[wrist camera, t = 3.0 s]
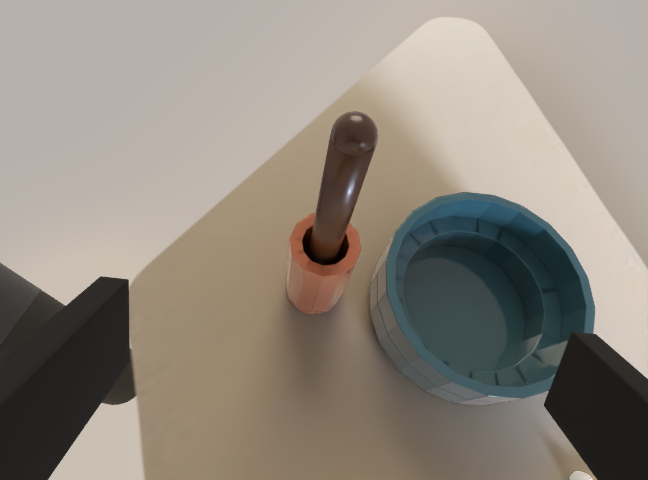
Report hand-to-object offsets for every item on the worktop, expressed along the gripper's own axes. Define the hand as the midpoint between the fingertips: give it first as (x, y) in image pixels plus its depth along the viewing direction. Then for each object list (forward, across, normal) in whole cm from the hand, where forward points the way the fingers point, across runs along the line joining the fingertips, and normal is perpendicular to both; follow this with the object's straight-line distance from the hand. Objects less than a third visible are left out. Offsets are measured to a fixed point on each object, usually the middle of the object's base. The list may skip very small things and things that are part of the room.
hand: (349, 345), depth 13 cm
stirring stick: (+21, 0, -8) cm, 22 cm away
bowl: (+21, +12, -9) cm, 26 cm away
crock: (+22, 0, -9) cm, 23 cm away
